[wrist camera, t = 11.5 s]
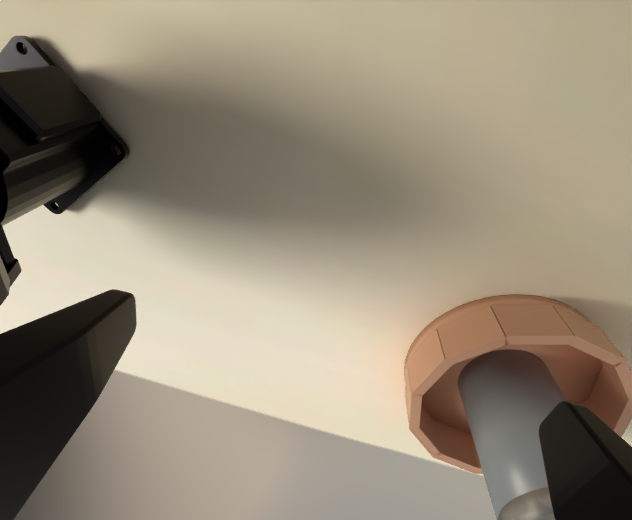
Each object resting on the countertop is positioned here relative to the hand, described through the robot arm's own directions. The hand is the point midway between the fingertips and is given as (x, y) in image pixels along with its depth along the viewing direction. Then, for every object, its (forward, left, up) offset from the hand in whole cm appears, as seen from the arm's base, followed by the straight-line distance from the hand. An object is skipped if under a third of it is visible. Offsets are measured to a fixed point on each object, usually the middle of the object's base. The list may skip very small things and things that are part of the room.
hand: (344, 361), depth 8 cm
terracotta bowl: (+1, -17, -13) cm, 21 cm away
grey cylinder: (+1, -17, -12) cm, 21 cm away
